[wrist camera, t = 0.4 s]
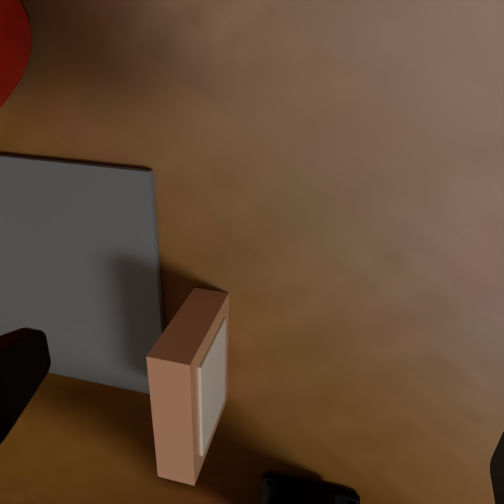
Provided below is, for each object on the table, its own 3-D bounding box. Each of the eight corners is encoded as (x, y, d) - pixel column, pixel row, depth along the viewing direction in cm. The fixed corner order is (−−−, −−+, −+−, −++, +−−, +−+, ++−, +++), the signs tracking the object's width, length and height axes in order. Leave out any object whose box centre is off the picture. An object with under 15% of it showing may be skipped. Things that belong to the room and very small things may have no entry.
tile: (229, 398, 26) (196, 486, 21) (197, 392, 26) (157, 476, 21) (231, 292, 22) (192, 365, 17) (194, 286, 23) (146, 356, 18)
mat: (168, 393, 27) (166, 397, 26) (-36, 350, 30) (-41, 353, 29) (152, 169, 20) (149, 172, 20) (-109, 142, 23) (-117, 144, 23)
